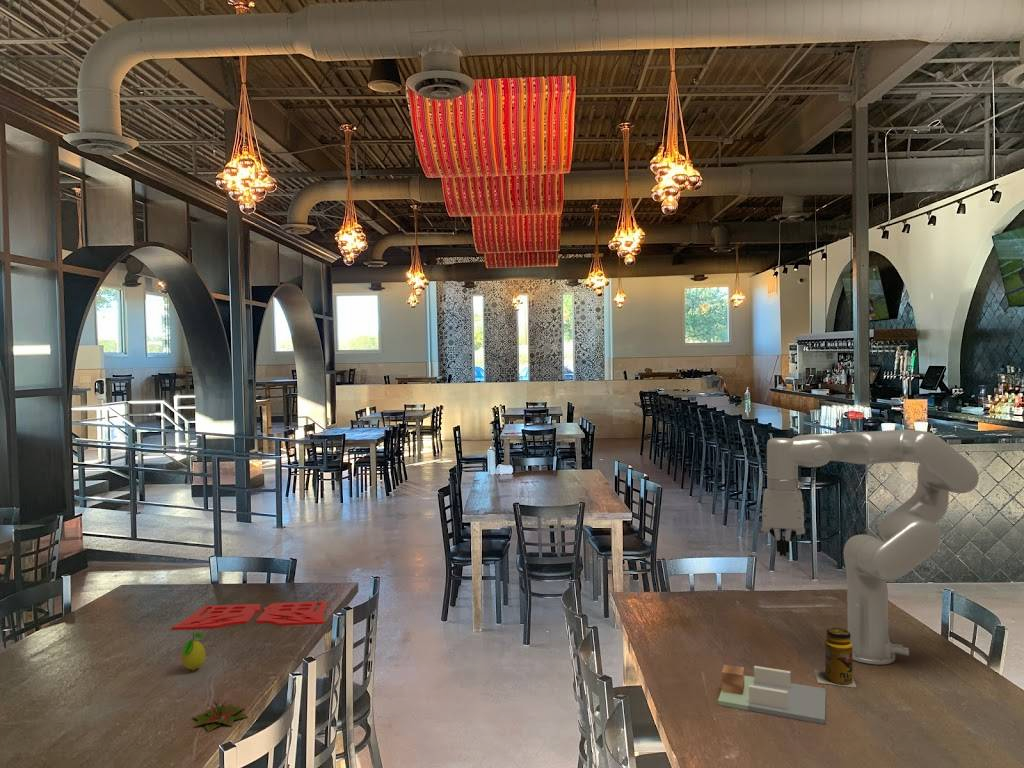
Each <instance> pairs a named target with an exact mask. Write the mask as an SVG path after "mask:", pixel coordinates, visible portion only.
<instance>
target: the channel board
mask: <svg viewBox="0 0 1024 768" xmlns="http://www.w3.org/2000/svg"><path fill="white" fill-rule="evenodd" d="M826 692H827V689H826V688H823V687H819V686H818V687H816V686H811V685H806V684H798V683H792V682H791V670H785V669H784V670H783V669H777V668H771V667H764V666H758V665H754V667H753V676H751V675H744V691H743V695H742V694H736V693H729V692H723V691H722V689H721V691H720V693H719V696H718V699H717V706H723V707H727V708H732V709H733V708H734V709H737V710H743V711H750V712H755V713H760V714H761V713H762V714H765V715H766V714H767V715H772V716H777V717H782V718H788V719H794V720H798V721H799V720H800V721H804V722H805V721H806V722H810V723H817V724H822V725H826Z"/></svg>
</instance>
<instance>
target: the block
mask: <svg viewBox="0 0 1024 768" xmlns="http://www.w3.org/2000/svg"><path fill="white" fill-rule="evenodd" d="M744 676H745V666H737V665H730V664H724V665H723V667H722V671H721V680H722V681H721V690H722V691H723V692H729V693H736V694H742V695H743V691H744Z"/></svg>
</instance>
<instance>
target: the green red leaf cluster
mask: <svg viewBox="0 0 1024 768" xmlns="http://www.w3.org/2000/svg"><path fill="white" fill-rule="evenodd" d="M224 696H225V695H223V696H222V697H223V698H222V700H221V701H222V702H221V704H220V701H219V700H218V698H216V700H217V701H215V700H214V699H212V700H211V701H212V704H213V705H215V707H213V706H212V705H211V704H210V705H209V707H210V708H209V709H207V710H206V713H200V714H198V715H196V716H192V717H191V718H192V719H195V720H197V722H196V723H195V725H194V726H193V728H195V727H198V726H201V725H204V726H205V728H206V729H205V730H207V732H210V731H212V730H213V729H216V728H217V727H221V726H222V725H223V724H224V725H227V726H229V727H233V723H234V721H236V720H240V719H244V718H249V716H248V715H246V714H245V713H243V712H241V711H242V710H245V709H246V708H245V707H239V706H234V705H233V704H232V703H230V704H229V702H230V701H231V700H228V699H230V697H231V696H229V697H228V698H226V700H225V701H224V702H223V699H224ZM222 717H224V719H222ZM217 718H218V720H216V719H217ZM221 719H222V720H221ZM215 723H216V724H215Z"/></svg>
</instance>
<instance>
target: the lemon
mask: <svg viewBox="0 0 1024 768" xmlns="http://www.w3.org/2000/svg"><path fill="white" fill-rule="evenodd" d="M195 637H196V638H198V639H199V640H203V639H204V637H203V634H202V632H201V631H198V632H196V633H195V631H193V632H192V639H191V640H189V641H187V642H186V643H185V645H184V648H183V650H182V654H181V661H182V664H183V666H184V668H186V669H189V670H191V671H192V672H194V671H195V670H196V669H198V668H200V667H201V666H202V665H204V663H205V660H206V649H205V647H204V645H203V643H201V641H198V640H195Z"/></svg>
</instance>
